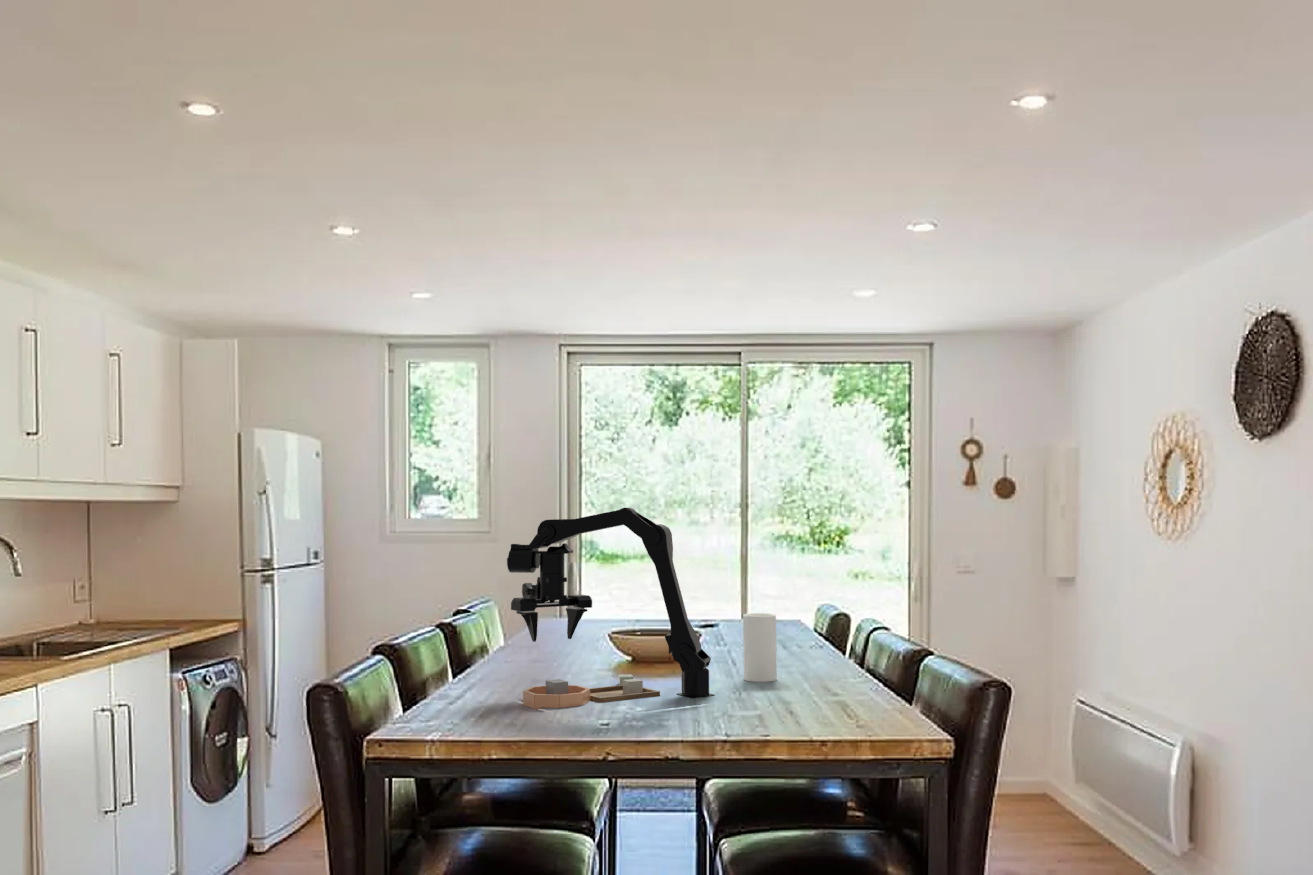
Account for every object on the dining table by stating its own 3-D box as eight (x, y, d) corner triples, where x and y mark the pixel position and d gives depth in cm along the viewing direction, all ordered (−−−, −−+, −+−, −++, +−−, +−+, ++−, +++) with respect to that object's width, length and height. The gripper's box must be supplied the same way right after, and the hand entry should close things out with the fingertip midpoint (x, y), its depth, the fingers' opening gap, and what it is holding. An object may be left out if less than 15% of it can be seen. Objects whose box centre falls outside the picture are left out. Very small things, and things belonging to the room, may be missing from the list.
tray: (659, 697, 240) (659, 691, 241) (599, 704, 232) (599, 698, 232) (630, 690, 251) (630, 684, 251) (572, 696, 243) (572, 690, 243)
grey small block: (637, 692, 245) (637, 678, 245) (642, 694, 242) (642, 680, 243) (622, 693, 244) (622, 679, 244) (628, 695, 241) (628, 681, 241)
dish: (599, 705, 231) (599, 691, 232) (542, 711, 224) (542, 697, 224) (569, 696, 243) (569, 683, 243) (515, 702, 235) (515, 688, 236)
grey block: (568, 702, 233) (568, 681, 233) (554, 703, 231) (554, 683, 231) (559, 699, 236) (559, 679, 236) (545, 700, 234) (545, 680, 235)
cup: (740, 681, 264) (739, 615, 265) (747, 676, 272) (746, 612, 273) (773, 682, 261) (772, 616, 262) (779, 677, 269) (778, 613, 270)
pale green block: (633, 676, 254) (633, 688, 254) (631, 674, 258) (631, 686, 258) (619, 677, 254) (619, 689, 254) (618, 674, 258) (618, 686, 258)
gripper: (571, 570, 262) (571, 634, 261) (501, 572, 252) (500, 639, 251) (593, 572, 253) (593, 638, 252) (521, 575, 243) (521, 644, 242)
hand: (552, 640), depth 249 cm, fingers open, 9 cm apart
